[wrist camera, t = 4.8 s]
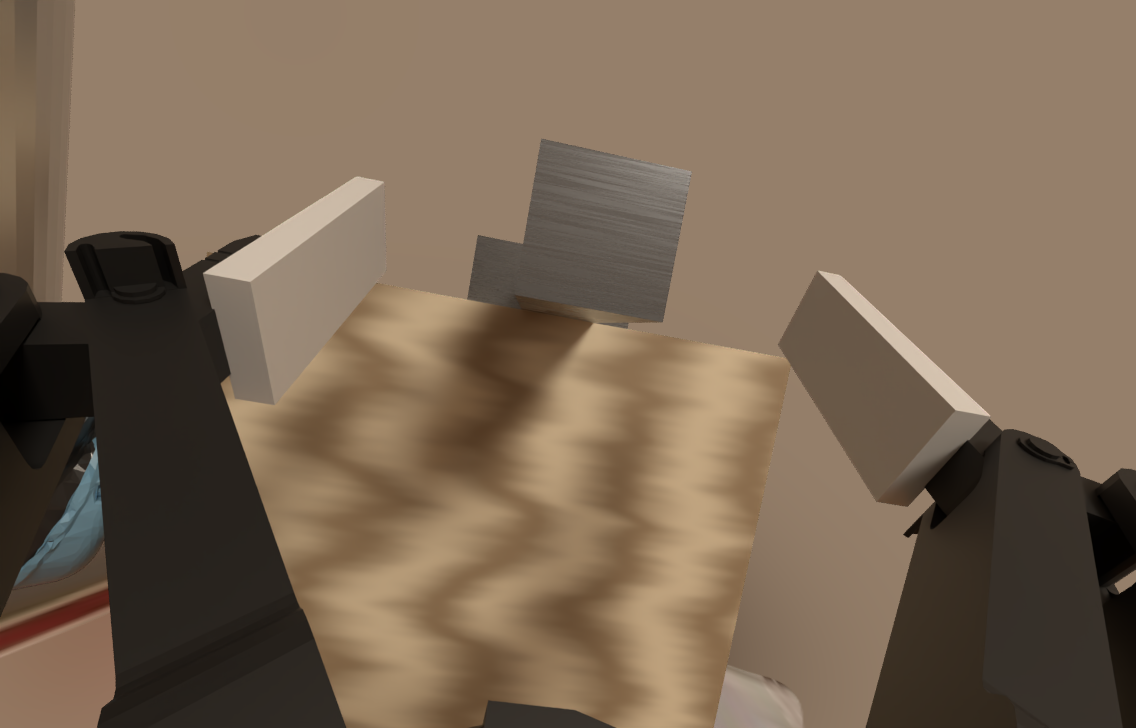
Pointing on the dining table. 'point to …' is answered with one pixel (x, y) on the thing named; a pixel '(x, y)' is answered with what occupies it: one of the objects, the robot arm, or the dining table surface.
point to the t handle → (589, 240)
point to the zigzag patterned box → (516, 510)
